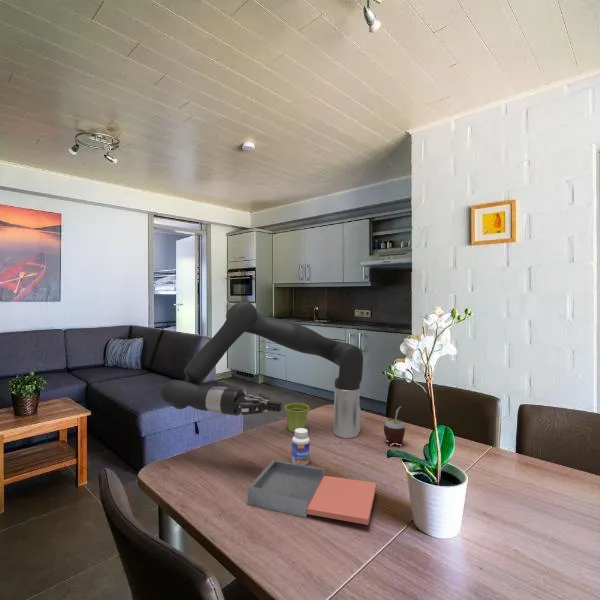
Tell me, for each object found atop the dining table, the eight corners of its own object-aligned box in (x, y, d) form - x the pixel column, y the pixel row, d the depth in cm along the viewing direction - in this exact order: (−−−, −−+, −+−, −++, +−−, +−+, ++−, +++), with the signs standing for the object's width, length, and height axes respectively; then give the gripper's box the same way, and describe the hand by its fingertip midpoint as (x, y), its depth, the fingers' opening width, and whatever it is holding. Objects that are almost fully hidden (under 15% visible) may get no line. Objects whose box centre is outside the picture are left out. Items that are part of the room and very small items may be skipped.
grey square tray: (247, 504, 87) (247, 488, 87) (272, 473, 102) (273, 459, 102) (306, 517, 82) (306, 500, 82) (323, 483, 97) (324, 468, 97)
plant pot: (313, 428, 137) (314, 406, 136) (300, 436, 129) (301, 413, 128) (293, 423, 142) (293, 401, 141) (279, 431, 134) (279, 408, 133)
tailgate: (306, 508, 82) (368, 519, 78) (324, 475, 97) (376, 482, 93) (306, 515, 82) (368, 526, 78) (324, 481, 97) (376, 489, 93)
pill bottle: (296, 467, 106) (297, 435, 106) (288, 459, 111) (289, 428, 110) (312, 463, 108) (313, 432, 108) (304, 456, 113) (304, 426, 113)
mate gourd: (389, 438, 129) (391, 396, 129) (410, 445, 124) (411, 401, 124) (378, 444, 124) (380, 401, 124) (399, 451, 119) (400, 406, 118)
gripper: (213, 393, 98) (272, 400, 93) (236, 382, 111) (289, 387, 105) (213, 420, 98) (272, 429, 93) (235, 406, 111) (288, 413, 106)
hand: (281, 407), depth 99 cm, fingers closed
